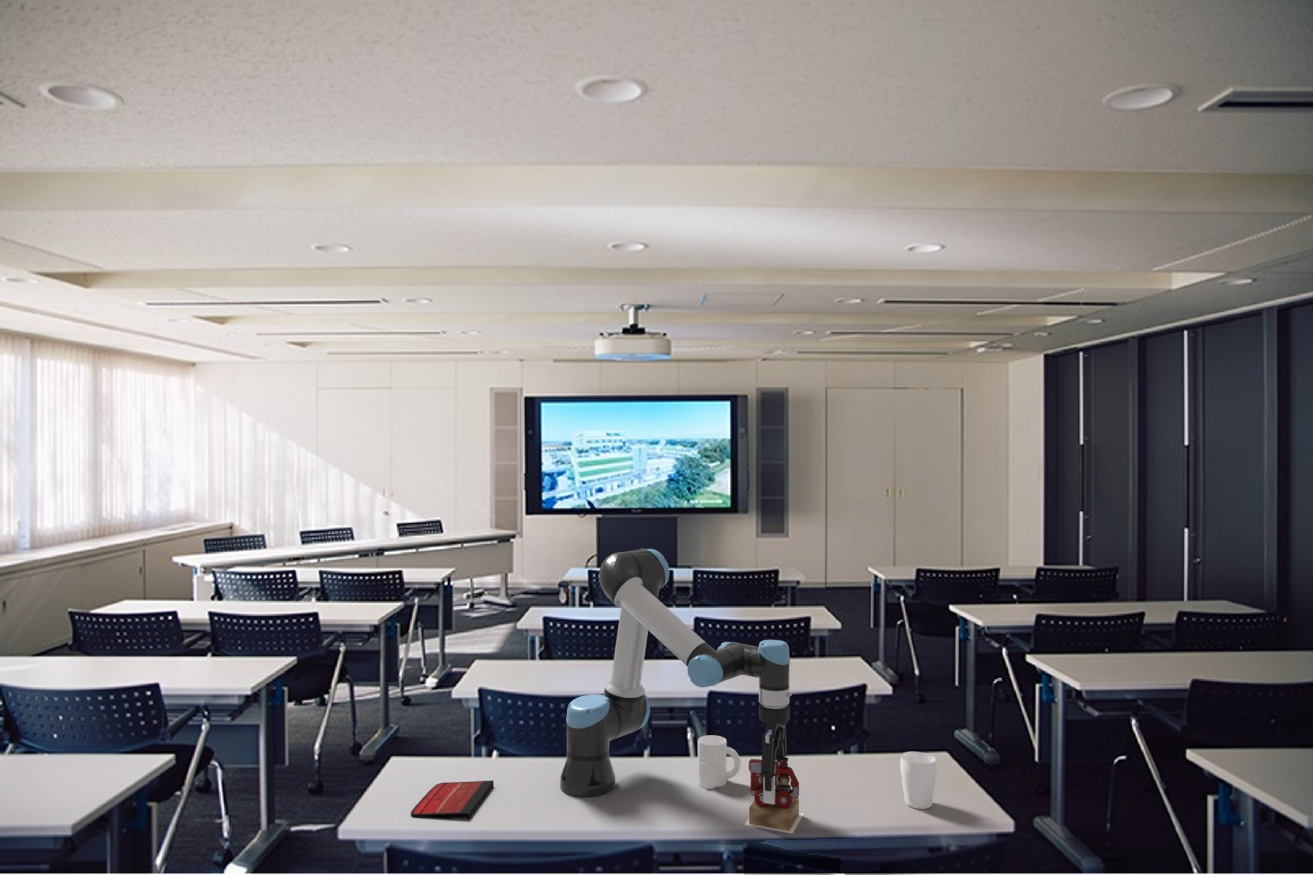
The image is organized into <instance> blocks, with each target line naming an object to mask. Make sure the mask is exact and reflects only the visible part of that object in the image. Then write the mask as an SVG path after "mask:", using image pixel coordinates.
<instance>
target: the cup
mask: <svg viewBox="0 0 1313 875" xmlns="http://www.w3.org/2000/svg"><path fill="white" fill-rule="evenodd" d="M899 765H900V766H899V767H900V769H899V770H900V776H901V782H902V789H903V796H904V802H905V804H906V805H907V806H908V807H910V808H914V809H918V810H925V809H929V808H931V807H932V805H933V800H934V792H935V785H936V777H937V762H936V757H935V756H934V755H932V754H930V753H925V752H922V751H906V752H903V753H901V755H900V764H899Z"/></svg>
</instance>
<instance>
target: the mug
mask: <svg viewBox="0 0 1313 875" xmlns="http://www.w3.org/2000/svg"><path fill="white" fill-rule="evenodd" d="M727 744H728V743H727V739H726V738H725V737H724V736H720V735H715V734H714V735H703V736H700V737H699V738H698V739H697V784H698V786H699V787H700V788H702V789H706V790H714V789H715V788H720V787H723V786H725V785H726V784H727V782H728V781H727V780H728V779H732V778H733V777H735V776H736V775H738V773H739V772H740V771H741V766H742V761H741V757H740V755H739V754H738V752H737V751H736V750H735V749H733V748H732V747H730V746H727ZM727 756H730V757H731V758H732V760H733V767H732V768H731V769H730V770H729V771H727V769H728V767H727V763H728V762H727V761H728V759H727Z"/></svg>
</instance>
